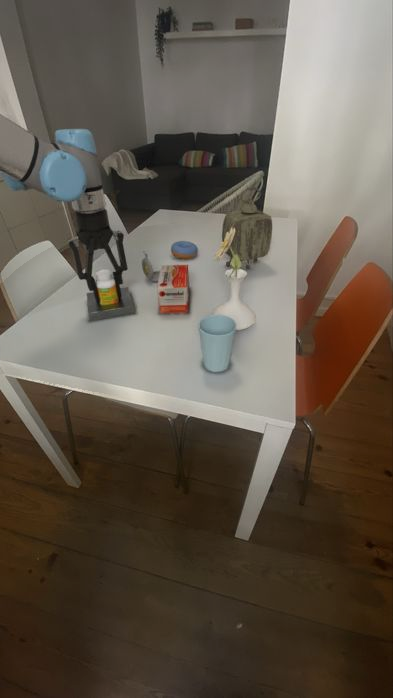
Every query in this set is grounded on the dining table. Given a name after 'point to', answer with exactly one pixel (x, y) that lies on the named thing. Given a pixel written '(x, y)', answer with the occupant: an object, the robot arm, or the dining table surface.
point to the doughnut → (184, 249)
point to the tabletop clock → (248, 231)
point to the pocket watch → (149, 270)
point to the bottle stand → (110, 306)
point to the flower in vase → (234, 289)
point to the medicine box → (173, 289)
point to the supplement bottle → (106, 288)
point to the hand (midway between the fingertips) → (108, 297)
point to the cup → (216, 341)
